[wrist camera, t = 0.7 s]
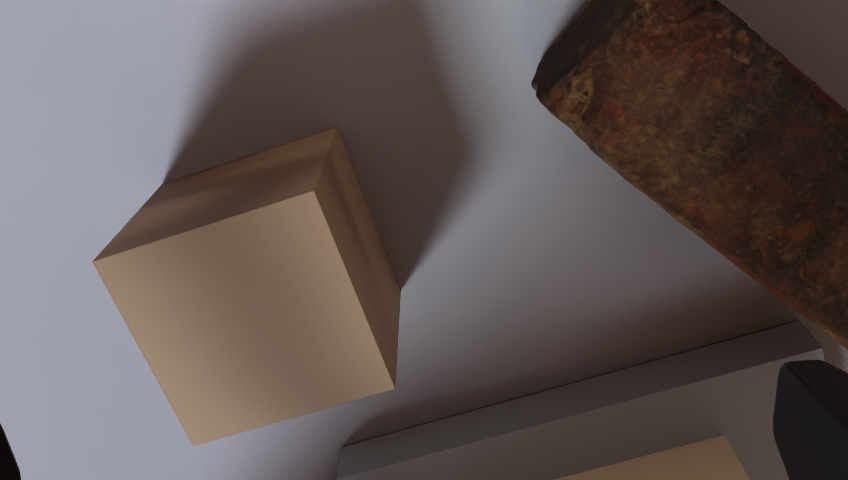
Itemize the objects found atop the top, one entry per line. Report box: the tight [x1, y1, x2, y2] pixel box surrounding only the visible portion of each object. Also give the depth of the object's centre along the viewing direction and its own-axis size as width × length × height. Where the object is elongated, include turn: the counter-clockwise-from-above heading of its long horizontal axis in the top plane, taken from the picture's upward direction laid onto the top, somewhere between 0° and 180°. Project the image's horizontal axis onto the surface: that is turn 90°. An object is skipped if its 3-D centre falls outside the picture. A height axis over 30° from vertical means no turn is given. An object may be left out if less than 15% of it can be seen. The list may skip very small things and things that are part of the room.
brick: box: [532, 0, 848, 349], centre depth 19 cm, size 11×4×5 cm, turn 53°
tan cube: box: [93, 127, 401, 446], centre depth 20 cm, size 5×5×5 cm
